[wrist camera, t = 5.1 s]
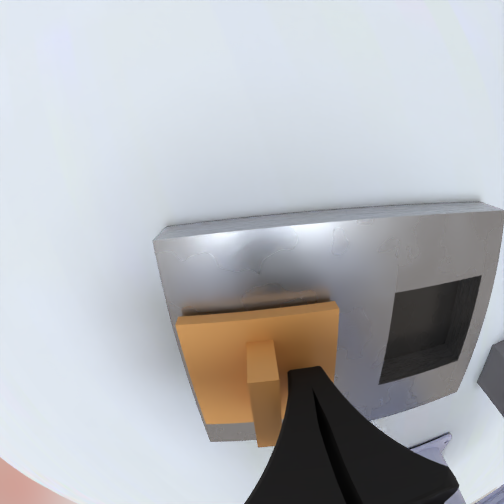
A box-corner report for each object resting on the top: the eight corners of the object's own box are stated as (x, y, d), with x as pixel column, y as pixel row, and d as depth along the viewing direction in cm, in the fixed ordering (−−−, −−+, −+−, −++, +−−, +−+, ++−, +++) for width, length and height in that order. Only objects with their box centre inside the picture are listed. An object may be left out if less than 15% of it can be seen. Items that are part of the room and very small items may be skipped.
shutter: (327, 403, 13) (340, 446, 10) (207, 415, 13) (202, 460, 10) (335, 300, 11) (359, 343, 8) (178, 316, 11) (162, 363, 8)
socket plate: (443, 373, 16) (456, 391, 14) (212, 416, 16) (210, 441, 14) (480, 201, 12) (504, 210, 10) (166, 226, 12) (152, 240, 10)
